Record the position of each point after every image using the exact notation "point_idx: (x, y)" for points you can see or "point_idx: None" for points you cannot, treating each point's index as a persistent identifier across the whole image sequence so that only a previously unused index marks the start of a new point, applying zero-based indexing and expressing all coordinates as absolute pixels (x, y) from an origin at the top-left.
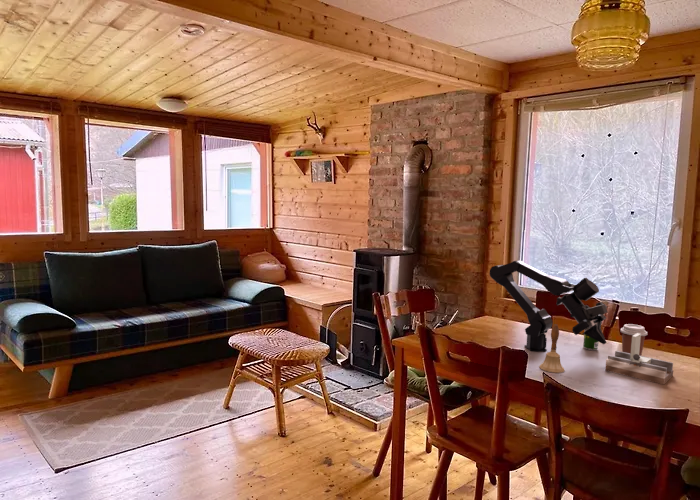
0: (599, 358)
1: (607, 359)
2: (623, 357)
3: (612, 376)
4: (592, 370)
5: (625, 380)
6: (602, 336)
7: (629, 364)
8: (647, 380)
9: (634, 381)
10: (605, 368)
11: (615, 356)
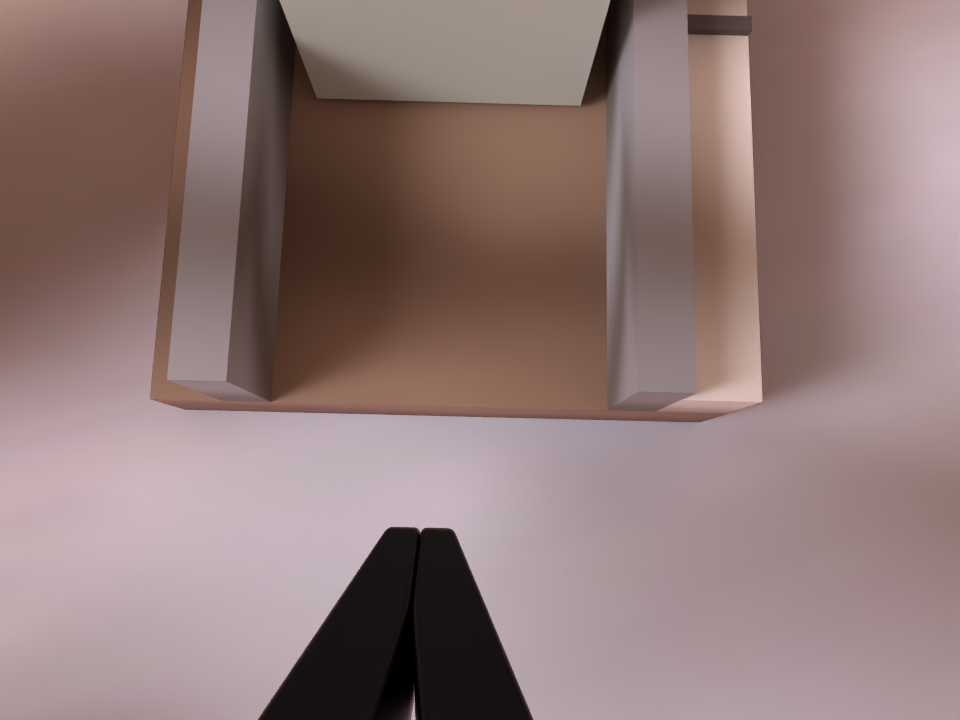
0: (115, 691)
1: (752, 381)
2: (266, 249)
3: (878, 272)
4: (846, 563)
5: (900, 109)
6: (433, 680)
7: (748, 29)
8: None
9: (845, 22)
10: (707, 418)
11: (258, 384)
